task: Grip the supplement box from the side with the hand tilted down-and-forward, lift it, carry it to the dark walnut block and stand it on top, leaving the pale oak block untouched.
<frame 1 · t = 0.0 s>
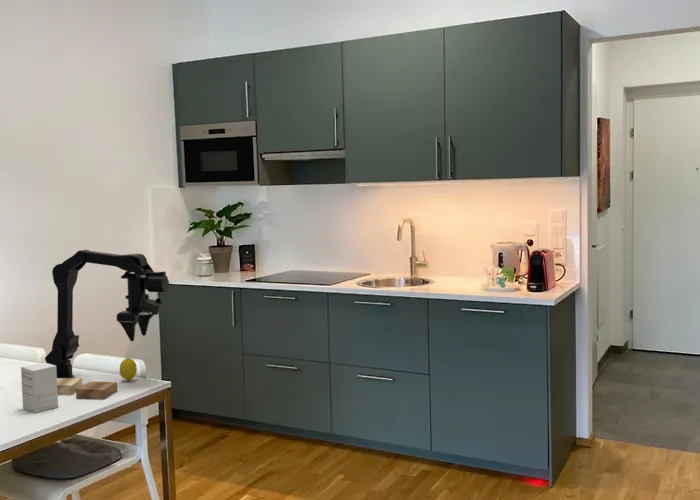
hand: (138, 338, 239), 15 cm above the table, tool pointing down, fingers open, 9 cm apart
supplement box: (40, 408, 211), on the table
lemon: (128, 381, 241), on the table
walnut block: (97, 394, 224), on the table
pale oak block: (63, 390, 229), on the table
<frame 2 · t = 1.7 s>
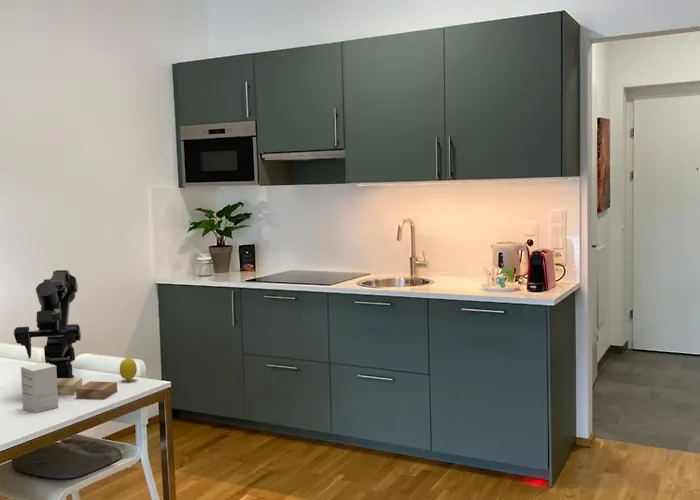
hand: (45, 357, 218), 13 cm above the table, tool tilted 45°, fingers open, 9 cm apart
nothing on the table moved.
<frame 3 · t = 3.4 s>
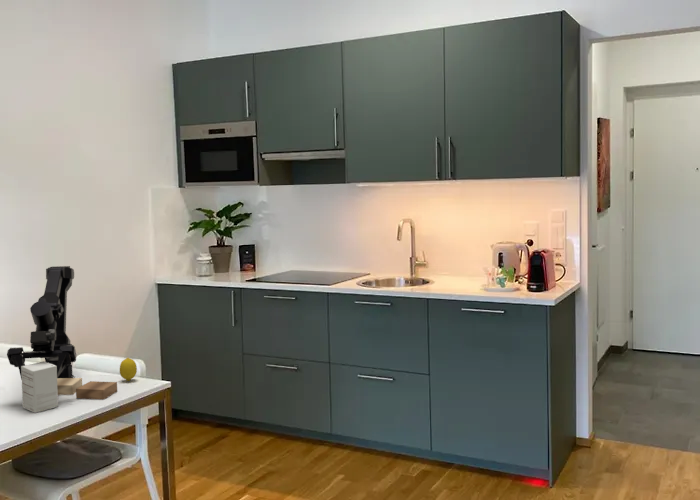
hand: (39, 379, 211), 9 cm above the table, tool tilted 45°, fingers open, 9 cm apart
supplement box: (40, 407, 211), on the table, touching gripper
everything else where it was.
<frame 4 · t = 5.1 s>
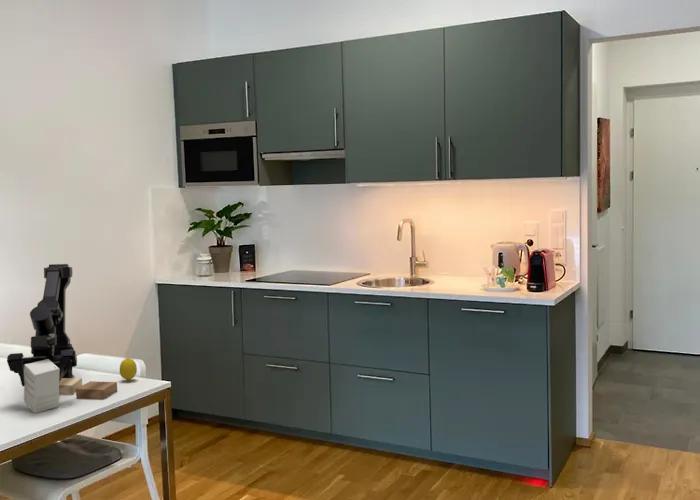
hand: (40, 384, 208), 8 cm above the table, tool tilted 45°, fingers closed on supplement box, 9 cm apart
supplement box: (41, 405, 210), point 1 cm above the table, touching gripper
everything else where it was.
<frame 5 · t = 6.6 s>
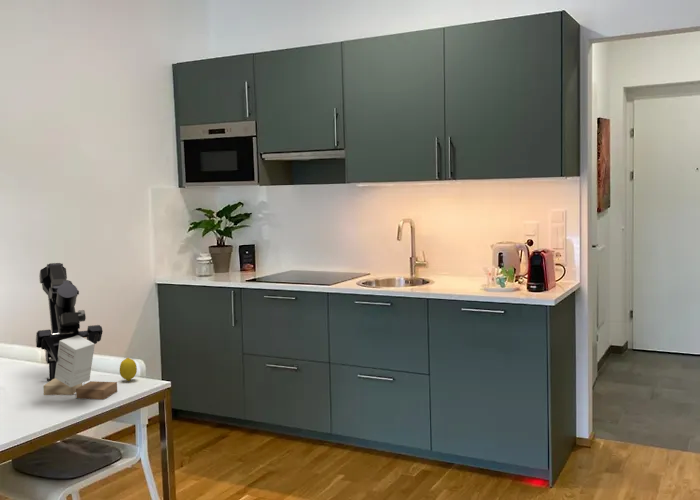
hand: (73, 359, 215), 13 cm above the table, tool tilted 45°, fingers closed on supplement box, 9 cm apart
supplement box: (71, 380, 217), point 7 cm above the table, touching gripper
everything else where it was.
when the fingers open (10 cm above the table, at t = 9.2 s): supplement box stays where it is, resting on walnut block.
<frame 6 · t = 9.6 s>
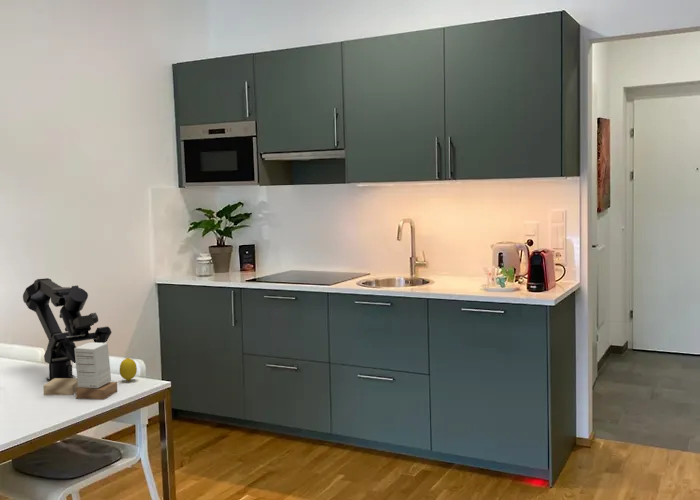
hand: (89, 359, 226), 10 cm above the table, tool tilted 45°, fingers open, 9 cm apart
supplement box: (94, 385, 224), point 3 cm above the table, touching walnut block
everything else where it was.
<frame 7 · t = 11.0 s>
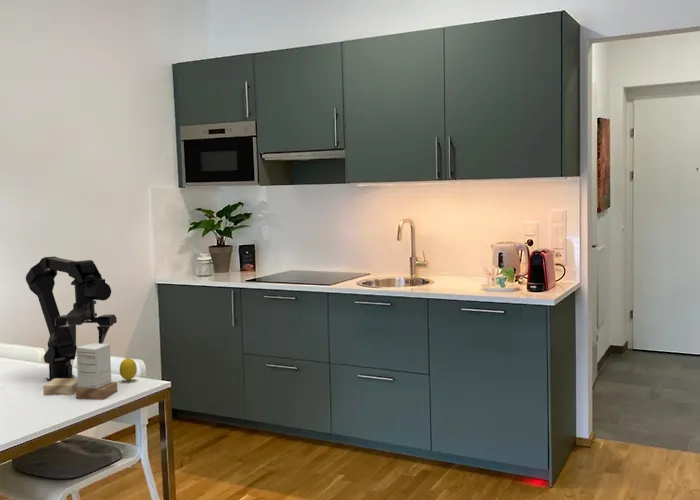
hand: (87, 346, 234), 13 cm above the table, tool pointing down, fingers open, 9 cm apart
nothing on the table moved.
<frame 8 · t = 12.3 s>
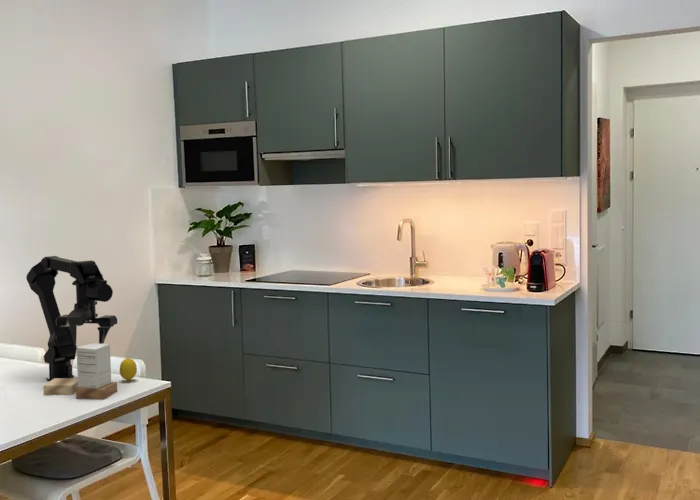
hand: (87, 346, 234), 13 cm above the table, tool pointing down, fingers open, 9 cm apart
nothing on the table moved.
at the end: supplement box 0.7 cm from the walnut block (horizontally); supplement box touching walnut block; supplement box tilted 0° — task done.
